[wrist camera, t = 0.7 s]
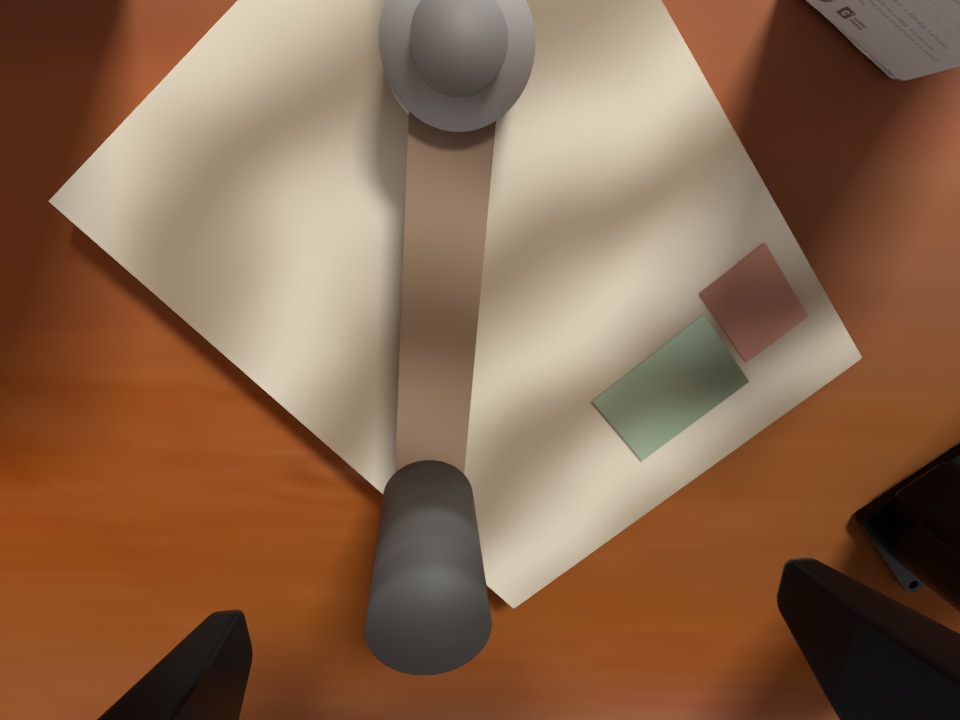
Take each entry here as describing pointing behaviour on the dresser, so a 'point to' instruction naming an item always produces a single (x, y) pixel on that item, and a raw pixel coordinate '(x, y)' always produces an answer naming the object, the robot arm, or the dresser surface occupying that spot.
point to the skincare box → (900, 33)
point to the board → (506, 267)
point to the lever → (441, 321)
